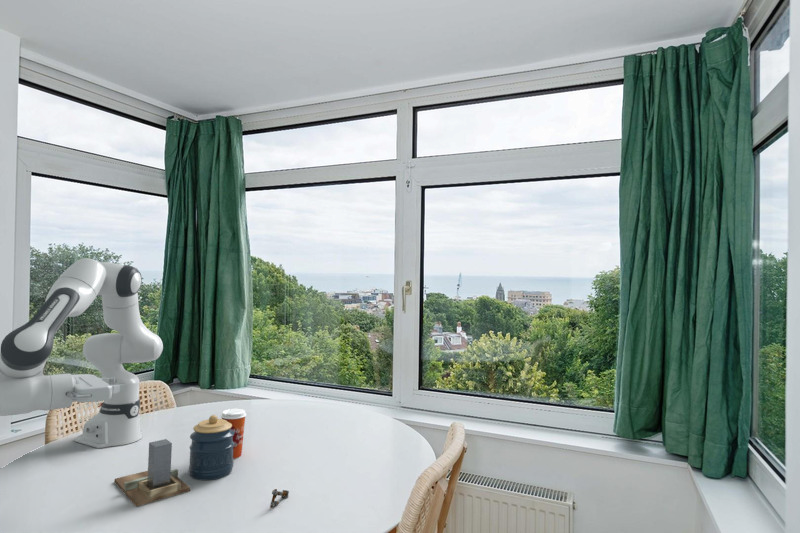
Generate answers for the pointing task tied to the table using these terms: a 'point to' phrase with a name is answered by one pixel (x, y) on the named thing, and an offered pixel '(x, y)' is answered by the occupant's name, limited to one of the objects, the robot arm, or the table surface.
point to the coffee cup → (236, 428)
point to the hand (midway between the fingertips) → (121, 383)
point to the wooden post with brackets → (282, 494)
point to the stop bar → (159, 464)
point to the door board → (142, 494)
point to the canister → (211, 449)
